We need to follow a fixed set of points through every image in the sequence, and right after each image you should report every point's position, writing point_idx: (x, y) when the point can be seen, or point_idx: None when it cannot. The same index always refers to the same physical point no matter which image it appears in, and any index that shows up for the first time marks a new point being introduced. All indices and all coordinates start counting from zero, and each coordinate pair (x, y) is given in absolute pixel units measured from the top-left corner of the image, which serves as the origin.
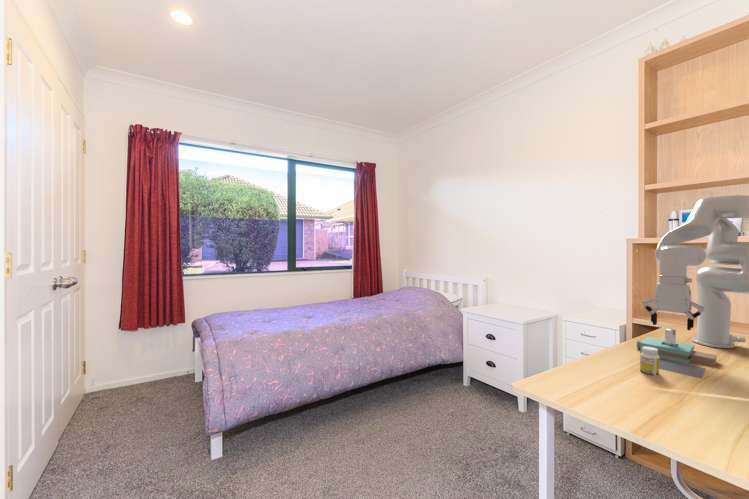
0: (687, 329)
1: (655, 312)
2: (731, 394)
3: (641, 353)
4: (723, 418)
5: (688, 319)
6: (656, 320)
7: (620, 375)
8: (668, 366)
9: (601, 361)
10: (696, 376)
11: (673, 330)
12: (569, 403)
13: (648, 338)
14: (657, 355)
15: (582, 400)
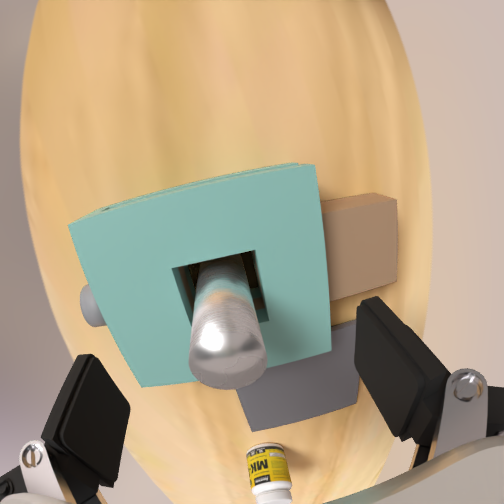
0: (356, 364)
1: (81, 482)
2: None
3: (256, 495)
4: (373, 462)
5: (403, 438)
6: (97, 397)
7: (235, 477)
8: (279, 402)
9: (161, 457)
10: (347, 403)
11: (256, 372)
12: None
13: (95, 273)
14: (288, 488)
15: None
